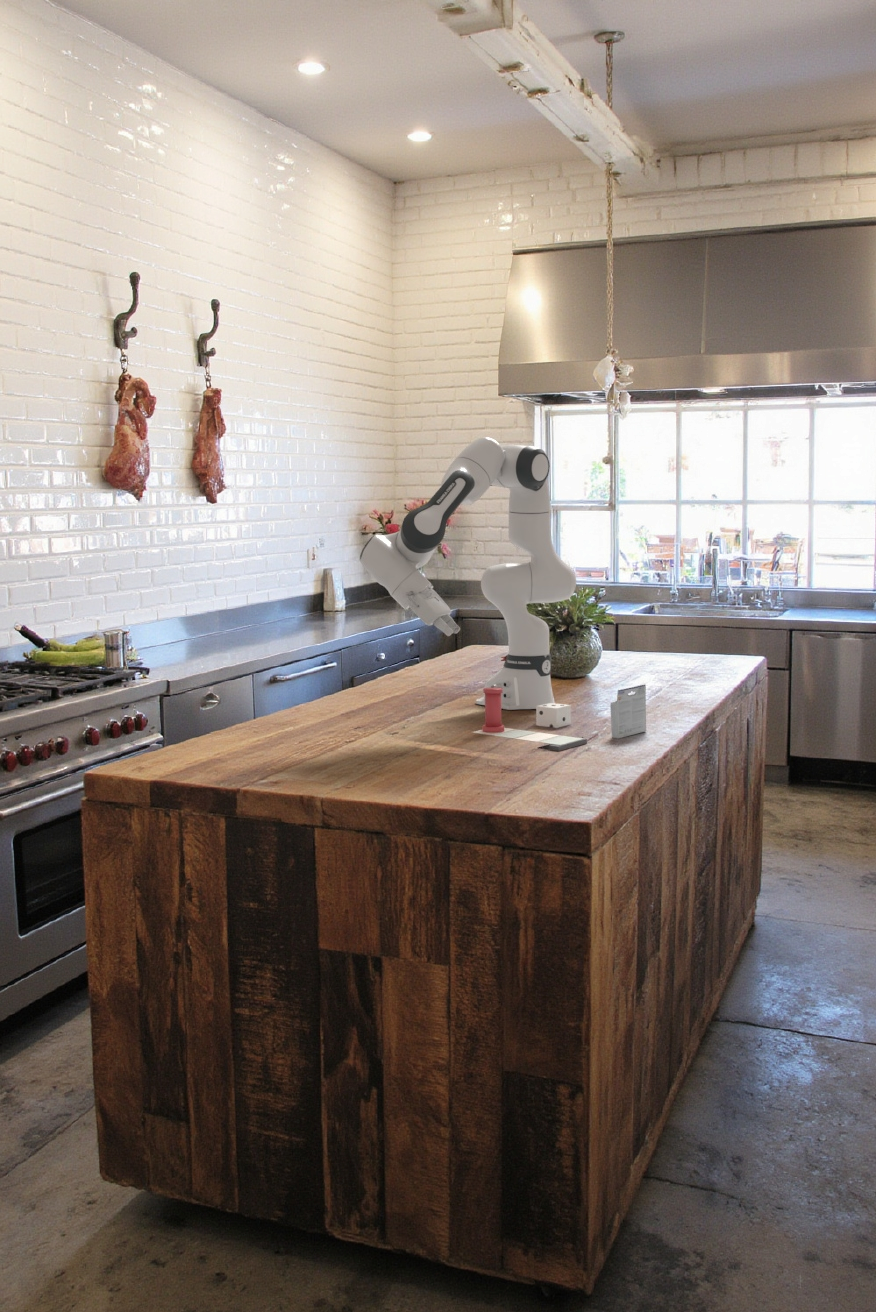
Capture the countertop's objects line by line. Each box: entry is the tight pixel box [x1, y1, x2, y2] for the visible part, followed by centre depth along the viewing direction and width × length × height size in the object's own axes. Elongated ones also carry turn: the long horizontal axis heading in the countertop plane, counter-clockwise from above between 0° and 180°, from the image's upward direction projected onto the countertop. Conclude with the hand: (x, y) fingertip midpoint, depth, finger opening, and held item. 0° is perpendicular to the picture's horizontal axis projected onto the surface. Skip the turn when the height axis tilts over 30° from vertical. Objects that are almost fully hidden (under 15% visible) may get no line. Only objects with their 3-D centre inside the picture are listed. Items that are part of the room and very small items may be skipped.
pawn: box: [481, 687, 505, 734], centre depth 274 cm, size 5×5×10 cm
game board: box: [471, 727, 588, 752], centre depth 268 cm, size 26×11×1 cm, turn 49°
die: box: [535, 702, 572, 729], centre depth 281 cm, size 6×6×6 cm
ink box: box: [610, 684, 647, 740], centre depth 272 cm, size 12×2×12 cm, turn 135°
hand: (454, 632), depth 274 cm, fingers open, 8 cm apart
